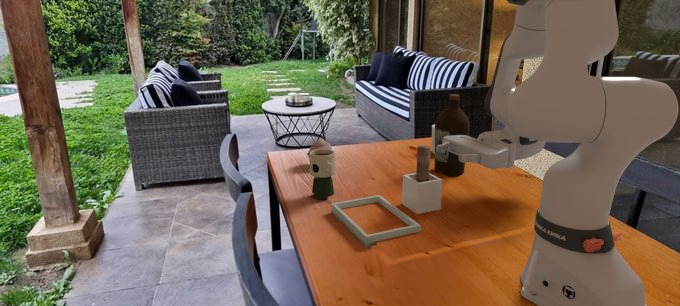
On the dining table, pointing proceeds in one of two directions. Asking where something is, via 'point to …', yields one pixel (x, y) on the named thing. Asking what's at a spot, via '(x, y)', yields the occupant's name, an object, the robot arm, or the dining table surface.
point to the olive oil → (448, 125)
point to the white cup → (433, 139)
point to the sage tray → (371, 238)
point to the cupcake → (319, 145)
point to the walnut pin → (423, 163)
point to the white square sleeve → (422, 193)
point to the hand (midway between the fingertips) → (448, 153)
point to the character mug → (322, 172)
